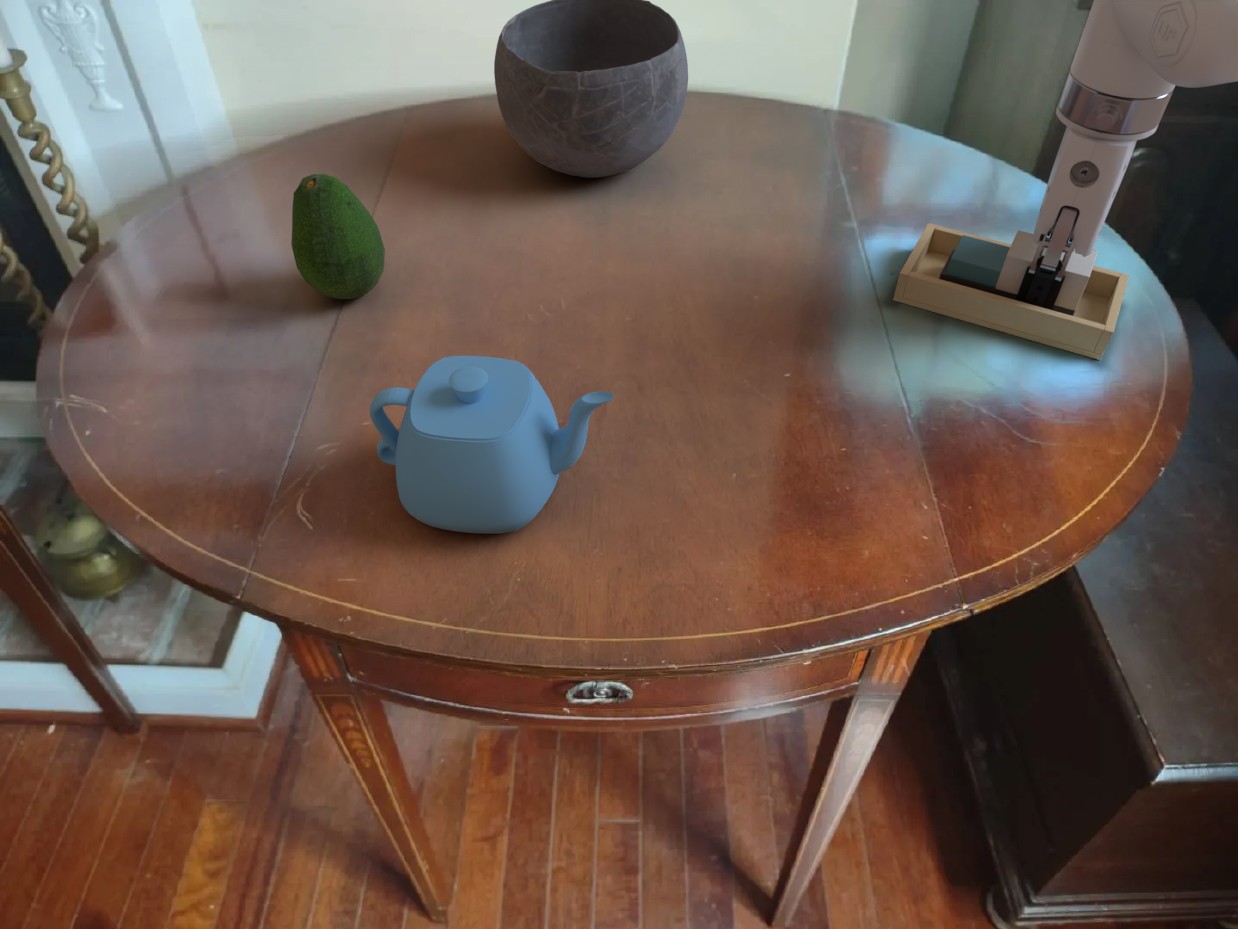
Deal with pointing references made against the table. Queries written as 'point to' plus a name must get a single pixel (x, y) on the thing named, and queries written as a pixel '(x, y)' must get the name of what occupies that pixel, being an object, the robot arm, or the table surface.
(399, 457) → the teapot
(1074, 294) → the two-tone stepped block
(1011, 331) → the wooden tray
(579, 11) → the bowl
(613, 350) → the table surface
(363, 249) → the fruit
